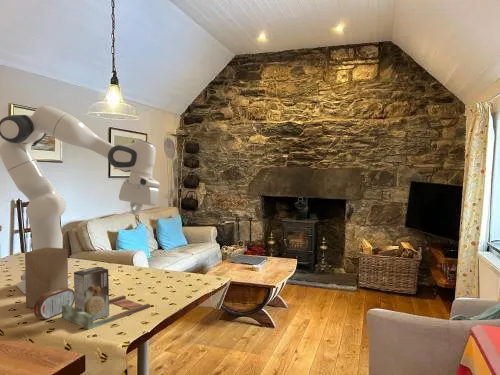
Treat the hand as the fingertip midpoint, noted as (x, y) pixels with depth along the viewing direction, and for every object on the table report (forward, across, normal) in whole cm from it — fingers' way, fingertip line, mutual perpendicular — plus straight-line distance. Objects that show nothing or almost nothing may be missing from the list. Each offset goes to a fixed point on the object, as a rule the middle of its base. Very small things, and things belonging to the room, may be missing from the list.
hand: (134, 214), depth 152 cm
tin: (+37, +1, -26) cm, 45 cm away
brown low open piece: (+34, +13, -14) cm, 39 cm away
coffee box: (+35, +12, -20) cm, 42 cm away
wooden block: (+37, -11, -23) cm, 45 cm away
